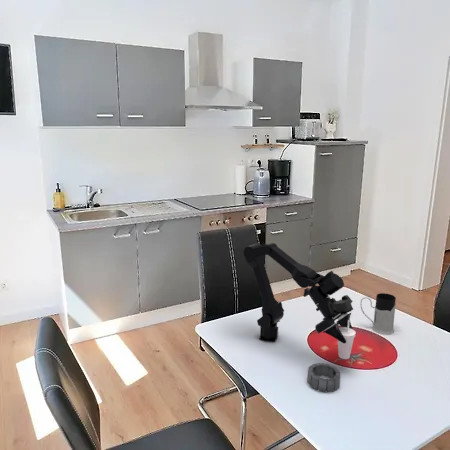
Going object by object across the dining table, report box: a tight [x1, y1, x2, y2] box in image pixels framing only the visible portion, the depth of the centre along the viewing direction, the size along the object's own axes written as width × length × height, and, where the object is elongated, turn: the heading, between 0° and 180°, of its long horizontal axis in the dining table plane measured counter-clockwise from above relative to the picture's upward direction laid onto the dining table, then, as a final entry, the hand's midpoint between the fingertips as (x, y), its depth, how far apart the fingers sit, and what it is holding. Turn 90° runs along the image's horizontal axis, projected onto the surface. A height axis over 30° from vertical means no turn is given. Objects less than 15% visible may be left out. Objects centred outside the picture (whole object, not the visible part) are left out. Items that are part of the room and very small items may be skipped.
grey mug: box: [360, 293, 397, 336], centre depth 171 cm, size 9×14×15 cm, turn 73°
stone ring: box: [306, 362, 341, 393], centre depth 135 cm, size 10×10×4 cm
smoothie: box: [337, 319, 356, 360], centre depth 141 cm, size 6×6×14 cm
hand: (349, 339), depth 140 cm, fingers closed on smoothie, 6 cm apart
